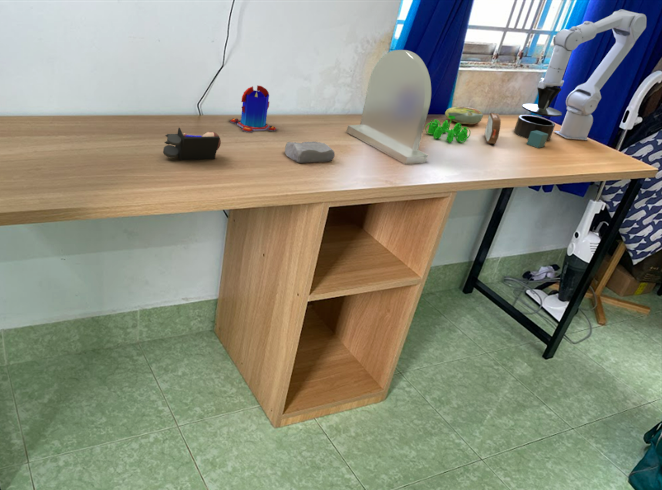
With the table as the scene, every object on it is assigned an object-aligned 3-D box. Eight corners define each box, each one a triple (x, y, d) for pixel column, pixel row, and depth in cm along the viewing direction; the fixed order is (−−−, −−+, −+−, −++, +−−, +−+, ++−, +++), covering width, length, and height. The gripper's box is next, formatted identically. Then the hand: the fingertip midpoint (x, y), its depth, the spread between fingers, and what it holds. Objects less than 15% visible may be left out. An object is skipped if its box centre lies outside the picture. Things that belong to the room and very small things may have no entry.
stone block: (280, 158, 171) (298, 163, 162) (281, 140, 169) (299, 145, 161) (316, 157, 176) (335, 163, 168) (318, 140, 174) (337, 145, 166)
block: (532, 142, 214) (537, 130, 212) (544, 146, 211) (548, 134, 209) (526, 144, 211) (530, 131, 209) (537, 148, 209) (542, 135, 206)
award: (427, 162, 180) (453, 63, 165) (405, 164, 175) (430, 63, 160) (367, 131, 199) (386, 40, 184) (346, 132, 194) (364, 39, 179)
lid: (547, 108, 225) (551, 95, 223) (568, 119, 214) (573, 106, 212) (514, 105, 222) (518, 92, 219) (534, 116, 211) (539, 103, 208)
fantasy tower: (244, 132, 180) (249, 91, 174) (227, 120, 188) (230, 80, 182) (279, 131, 186) (284, 90, 179) (260, 119, 194) (265, 80, 188)
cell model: (437, 110, 225) (471, 95, 228) (441, 130, 228) (474, 116, 231) (455, 113, 215) (490, 97, 218) (459, 134, 219) (493, 119, 222)
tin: (495, 147, 202) (503, 122, 198) (485, 145, 203) (493, 120, 198) (491, 135, 215) (498, 111, 211) (482, 133, 215) (489, 109, 211)
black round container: (537, 130, 229) (542, 116, 226) (556, 142, 219) (562, 127, 216) (507, 128, 226) (512, 113, 223) (525, 139, 216) (531, 124, 213)
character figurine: (160, 155, 156) (215, 154, 162) (168, 163, 150) (225, 162, 157) (160, 124, 152) (217, 124, 159) (168, 131, 147) (227, 131, 153)
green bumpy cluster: (451, 147, 196) (457, 125, 192) (414, 132, 205) (420, 111, 201) (477, 142, 205) (483, 121, 201) (440, 128, 214) (446, 108, 210)
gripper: (555, 64, 217) (542, 103, 224) (535, 65, 208) (522, 106, 215) (574, 69, 212) (560, 108, 220) (555, 71, 204) (540, 112, 211)
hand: (542, 107), depth 217 cm, fingers closed on lid, 2 cm apart
